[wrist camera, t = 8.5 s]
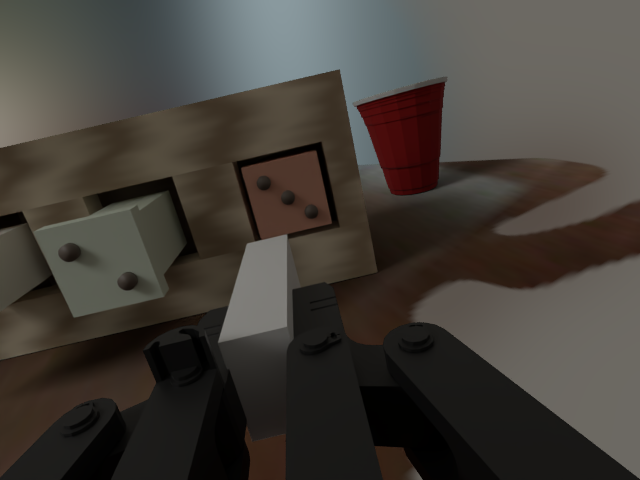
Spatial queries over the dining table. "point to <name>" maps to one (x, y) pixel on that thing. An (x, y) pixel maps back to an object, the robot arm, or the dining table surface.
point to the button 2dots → (114, 253)
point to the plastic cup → (407, 134)
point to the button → (19, 263)
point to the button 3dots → (287, 193)
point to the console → (186, 200)
